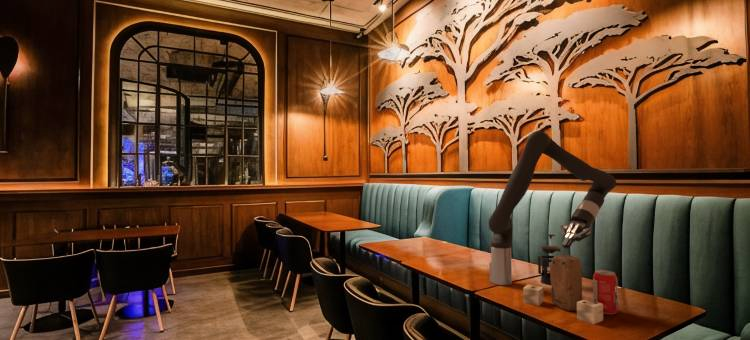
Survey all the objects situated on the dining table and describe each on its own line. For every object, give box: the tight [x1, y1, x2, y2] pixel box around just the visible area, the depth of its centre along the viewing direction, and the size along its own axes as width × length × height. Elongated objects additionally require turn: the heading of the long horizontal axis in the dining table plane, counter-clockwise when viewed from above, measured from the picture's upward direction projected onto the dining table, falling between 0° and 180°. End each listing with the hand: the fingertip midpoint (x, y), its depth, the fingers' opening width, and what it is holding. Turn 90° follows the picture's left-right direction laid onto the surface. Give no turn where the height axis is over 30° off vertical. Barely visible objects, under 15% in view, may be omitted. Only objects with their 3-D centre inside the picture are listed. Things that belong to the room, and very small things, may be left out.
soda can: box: [592, 269, 619, 316], centre depth 139 cm, size 8×8×15 cm
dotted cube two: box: [576, 298, 604, 325], centre depth 132 cm, size 6×6×6 cm
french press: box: [537, 233, 562, 286], centre depth 177 cm, size 12×9×23 cm
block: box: [549, 253, 583, 312], centre depth 144 cm, size 11×8×20 cm
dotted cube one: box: [522, 284, 544, 306], centre depth 150 cm, size 6×6×6 cm
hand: (564, 247), depth 144 cm, fingers closed
